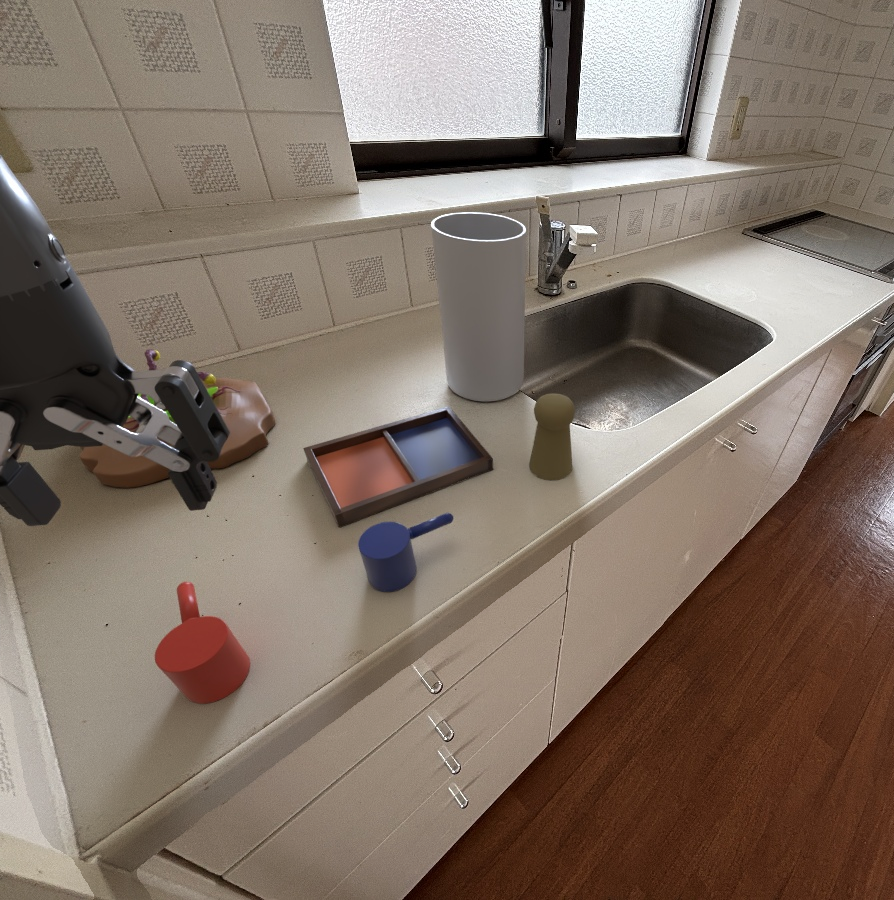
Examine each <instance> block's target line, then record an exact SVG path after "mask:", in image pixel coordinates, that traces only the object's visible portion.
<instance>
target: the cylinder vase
mask: <svg viewBox="0 0 894 900" xmlns="http://www.w3.org/2000/svg"><path fill="white" fill-rule="evenodd" d="M430 227H431V235H432V236H431V237H432V245H433V256H434V266H435V275H436V276H435V277H436V286H437V295H438V305H439V306H438V307H439V317H440V324H441V325H440V326H441V335H442V345H443V355H444V364H445V375H446V382H447V385H448V387H449V388H450V390H451V391H452V392H453V393H455V394H456V395H458V396H459V397H461V398H464V399H467V400H471V401H475V402H496V401H502V400H505V399H507V398H509V397H512V396H513V395H515V394H517V393H518V392H519V391H520V390H521V389H522V387H523V385H524V380H525V328H526V327H525V324H526V323H525V322H526V263H527V262H526V259H527V258H526V255H527V254H526V253H527V252H526V250H527V249H526V248H527V228H526V225H524V224H523V223H521V222H520V221H518V220H516V219H513V218H511V217H508V216H505V215H499V214H494V213H486V212H472V211H471V212H454V213H453V212H452V213H448V214H443V215H440V216H437V217H435V218H434V219H432V221H431V224H430Z"/></svg>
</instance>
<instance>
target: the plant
mask: <svg viewBox="0 0 894 900" xmlns="http://www.w3.org/2000/svg"><path fill="white" fill-rule="evenodd" d="M144 357H145V359H146V365H147V366H148V371H149V370H159V368H158V366H157V364H156V363H155V362H157V361H159V360H160V359H161V354H160V352H159V351H158V350H156V349H155V348H149V349H146V350H145V352H144ZM197 373H198V375H199V377H200V378H201V380H202V382H203V384H204V386H205V387H206V389H207V391H208V393H209V395H210V397H211V398H212V400H213V402H214V404H215V406H216V407H217V409H218V411H219V413H220V415H221V417H222V418H223V420H224V422H225V424H226V426H227V427H228V429H229V431H230V434H229V436H228V439H227V440H226V441H225V443H224V445H223V448H222V450H221V454H220V456H219V458H218V459H217V460H216V461H213V462H207V463H208V465H209V467H210V469H211V470H212V469H224V468H227V467H229V466H230V465H233V464H234V463H238V462H240V461H242V460H245V459H248V458H249V457H251V456H252V455H254V454H255V453H256V452H258V451H259V450H262V449H263V448H266V447H268V446H269V445H270V442H269V440H268V437H267V433H268V432H269V431H270V430H271V429H273V427H275V425H276V419H275V416H274V413H273V411H272V409H271V407H270V405H269V403H268V401H267V400H266V398H265V396H264V394H263V393H262V390H261V388H260V387H259V386H258V384H257V383H256V382H255V381H253V380H244V379H235V378H229V377H215V375H213V374H212V373H210V372H207V371H197ZM138 397H140V398H142V399H143V400H145V401H147V402H149V403H150V404H152V405H154V406H155V404H156V403H155V402H154V400H153V399H151V398H150V397H148V396H146V395H144V394H138ZM163 411H164V412H166V413H167V415H168V416H169V419H170V421H171V422H173V423H175V422H174V420H173V419H172V417H171V415H170V414H169V412H168V411H167V409H164V410H163ZM175 424H176V423H175ZM122 428H124V429H126V430H128V431H130V432H133V433H135V432H136V431H137V429H138V428H139V423H138V422H137V421H136V420H135V419H134V418H132V417H130V416H128V419H127V421H126V423H125V424H124V425H123V427H122ZM157 438H158V437H157ZM158 440H159V441H161V442H163V443H165V444H167V445H169V446H171V447H172V448H173V447H174V446H173V445H172V444H170V443H168V442H166V441H164V440H162V439H160V438H158ZM80 449H81V450H82V451H81V452H80V453H79V455H78V458H79V459H80V461H81V462H82V464H83V465H84V466H85V468H86V469H87V470H88V471H89V472H91V473H93V474H94V476H95V477H96V478H97V480H98V481H99V482H100V483H101V484H102V485H105V486H110V487H114V488H124V489H125V488H138V487H141V486H146V485H150V484H154V483H157V482H159V481H162V480H167V479H170V477H169V476H168V474H167V473H168V471H169V470H170V469H168V468H166V467H164V466H162V465H160V464H158V463H156V462H154V461H152V460H150V459H148V458H146V457H144V456H137V457H131V456H128V455H126V454H124V453H122V452H120V451H117V450H115V449H113V448H111V447H109V446H107V445H105V444H103V445H102V446H93V447H80Z"/></svg>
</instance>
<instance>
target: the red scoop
mask: <svg viewBox="0 0 894 900" xmlns="http://www.w3.org/2000/svg"><path fill="white" fill-rule="evenodd" d="M176 595H177V602H178V608H179V614H180V620H181V623H180V624H179V625H177V626H176V627H174V628H172V629H171V630H170V631H169V632H168V633H167V634H165V636H164V637H162V639H161V640H160V641H159V643H158V645H157V647H156V649H155V651H154V660H155V661H154V663H155V664H156V666H157V667H158V668H159V669H160V670H161V671H162V673H163V674H164V675H165V676H166V677H167V678H168V679H169V680H170V681H171V682H172V683H173V684H174V685H175V686H176V688H177V689H178V690H179V691H180V692H181V693H182V695H183V696H185V698H186V699H188V700H189V701H190V702H192V703H195V704H210V703H214V702H217V701H220V700H222V699H224V698H226V697H228V696H230V695H231V694H233V693H234V692H235V691H236V690H237V689H238V688H239V687H240V686H241V685H242V684H243V683H244V682H245V680H246V679H247V677H248V675H249V672H250V669H251V659H250V657H249V655H248V654H247V652H246V650H245V649H244V648H243V646H242V644H241V643H240V642H239V640H238V639H237V637H236V636H235V635H234V633H233V631H232V630H231V629H230V627H229V626H228V624H227V623H226V621H225V620H224V619H222V618H220V617H217V616H213V615H205V616H201V615H200V609H199V605H198V600H197V594H196V589H195V585H194V583H192V582H190V581H183V582H181V583H179V584H178V585H177V587H176Z"/></svg>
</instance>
